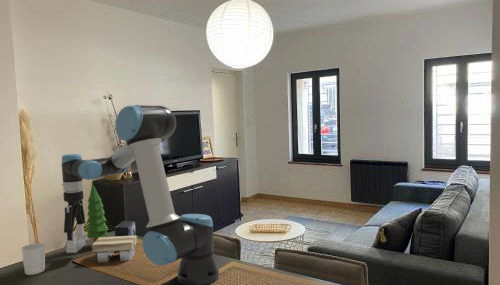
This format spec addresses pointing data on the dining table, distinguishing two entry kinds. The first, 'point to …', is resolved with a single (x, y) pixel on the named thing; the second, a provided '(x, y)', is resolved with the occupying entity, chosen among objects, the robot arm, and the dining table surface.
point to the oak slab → (114, 243)
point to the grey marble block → (77, 244)
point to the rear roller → (127, 254)
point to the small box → (125, 228)
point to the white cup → (34, 258)
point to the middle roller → (104, 256)
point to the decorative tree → (96, 216)
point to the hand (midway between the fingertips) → (76, 243)
